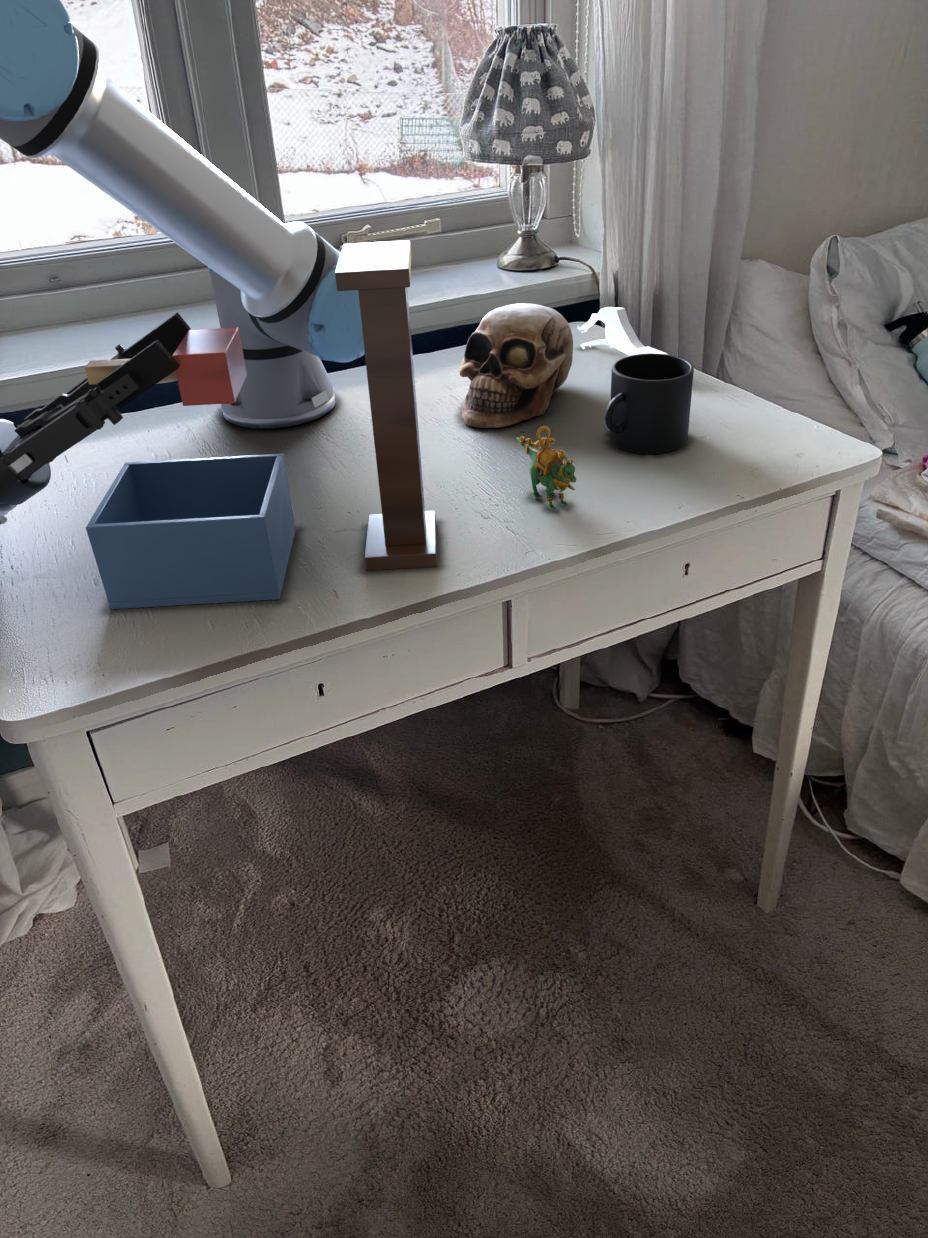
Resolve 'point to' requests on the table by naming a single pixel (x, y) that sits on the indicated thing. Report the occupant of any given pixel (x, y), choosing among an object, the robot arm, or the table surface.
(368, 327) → the stand
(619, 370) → the mug
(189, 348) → the mallet
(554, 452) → the figurine
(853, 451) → the table surface
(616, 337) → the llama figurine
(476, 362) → the tan skull model
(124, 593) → the tub
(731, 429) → the table surface
